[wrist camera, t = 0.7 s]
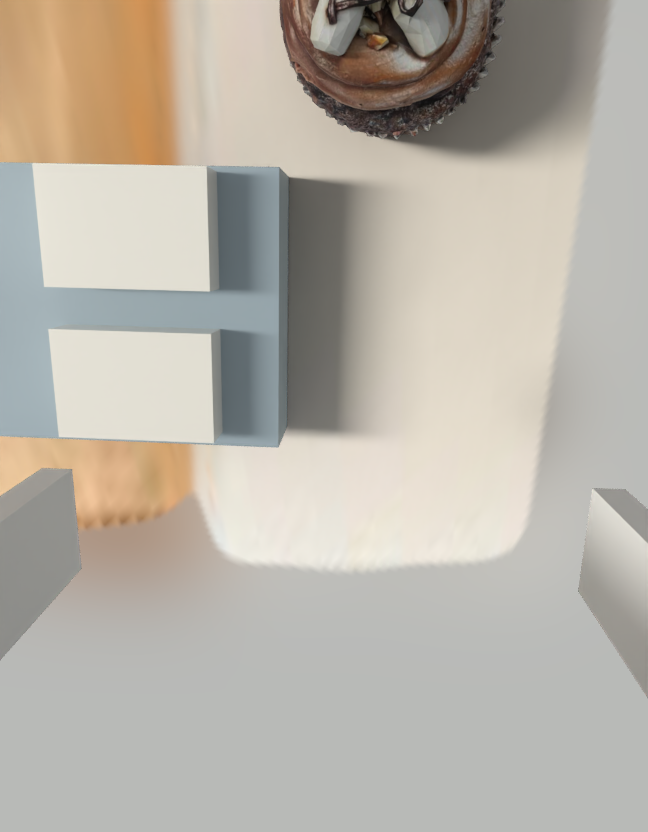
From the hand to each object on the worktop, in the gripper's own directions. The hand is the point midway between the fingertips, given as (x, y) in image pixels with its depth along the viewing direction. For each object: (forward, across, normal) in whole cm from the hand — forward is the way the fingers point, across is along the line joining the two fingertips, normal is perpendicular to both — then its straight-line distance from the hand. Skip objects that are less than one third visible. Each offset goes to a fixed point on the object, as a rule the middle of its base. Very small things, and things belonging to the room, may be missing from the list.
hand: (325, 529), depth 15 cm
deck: (+21, -11, +4) cm, 24 cm away
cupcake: (+21, +2, +16) cm, 27 cm away
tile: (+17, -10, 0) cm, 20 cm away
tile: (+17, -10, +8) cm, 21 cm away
